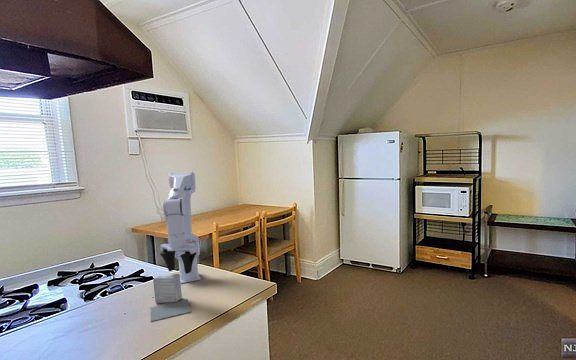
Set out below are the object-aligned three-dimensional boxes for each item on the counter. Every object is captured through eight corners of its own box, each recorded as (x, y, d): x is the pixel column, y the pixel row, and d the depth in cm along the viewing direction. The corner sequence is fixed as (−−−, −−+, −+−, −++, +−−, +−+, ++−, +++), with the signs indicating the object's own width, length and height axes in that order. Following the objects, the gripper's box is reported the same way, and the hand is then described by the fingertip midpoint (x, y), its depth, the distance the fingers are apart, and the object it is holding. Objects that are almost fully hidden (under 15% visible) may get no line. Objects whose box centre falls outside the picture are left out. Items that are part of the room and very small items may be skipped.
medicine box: (182, 297, 116) (180, 273, 116) (176, 302, 112) (174, 277, 112) (161, 298, 117) (159, 274, 117) (155, 303, 113) (152, 278, 112)
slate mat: (150, 308, 109) (150, 307, 109) (187, 300, 114) (187, 299, 114) (150, 321, 100) (150, 320, 100) (191, 312, 105) (191, 311, 105)
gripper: (152, 235, 113) (155, 273, 114) (184, 237, 106) (187, 278, 108) (167, 230, 119) (170, 266, 120) (198, 232, 113) (202, 270, 114)
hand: (179, 271), depth 114 cm, fingers open, 7 cm apart
